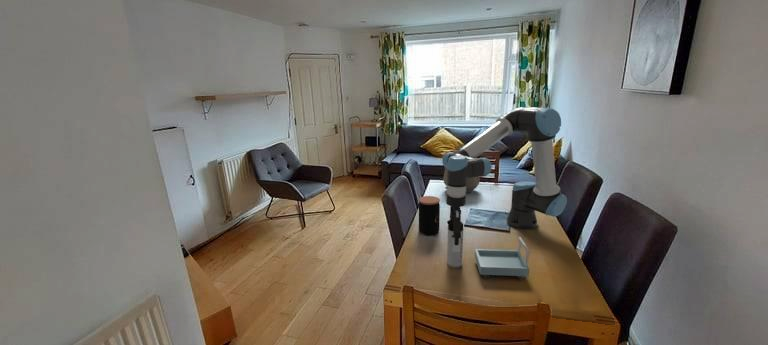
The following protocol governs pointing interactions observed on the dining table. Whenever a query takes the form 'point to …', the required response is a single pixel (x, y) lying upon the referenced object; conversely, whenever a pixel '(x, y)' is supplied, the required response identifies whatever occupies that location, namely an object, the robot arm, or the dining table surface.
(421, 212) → the coffee jar
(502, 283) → the dining table surface
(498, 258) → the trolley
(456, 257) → the travel mug
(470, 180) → the pot
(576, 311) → the dining table surface
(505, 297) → the dining table surface
